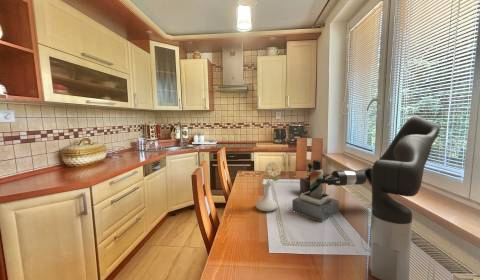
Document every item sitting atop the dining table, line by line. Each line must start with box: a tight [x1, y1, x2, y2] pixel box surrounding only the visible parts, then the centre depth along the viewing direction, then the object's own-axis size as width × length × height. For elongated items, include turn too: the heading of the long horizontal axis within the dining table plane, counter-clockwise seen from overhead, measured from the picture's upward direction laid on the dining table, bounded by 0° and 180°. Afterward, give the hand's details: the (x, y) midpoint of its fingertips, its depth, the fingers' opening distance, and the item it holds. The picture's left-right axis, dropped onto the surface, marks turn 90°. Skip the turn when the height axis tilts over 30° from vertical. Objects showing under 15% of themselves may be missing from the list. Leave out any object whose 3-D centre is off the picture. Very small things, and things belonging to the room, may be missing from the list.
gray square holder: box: [291, 191, 340, 223], centre depth 104 cm, size 16×16×9 cm
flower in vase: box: [255, 161, 282, 212], centre depth 107 cm, size 13×11×25 cm
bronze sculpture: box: [299, 162, 323, 194], centre depth 133 cm, size 16×11×18 cm
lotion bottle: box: [309, 159, 324, 199], centre depth 103 cm, size 6×6×20 cm
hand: (312, 179), depth 103 cm, fingers open, 8 cm apart
